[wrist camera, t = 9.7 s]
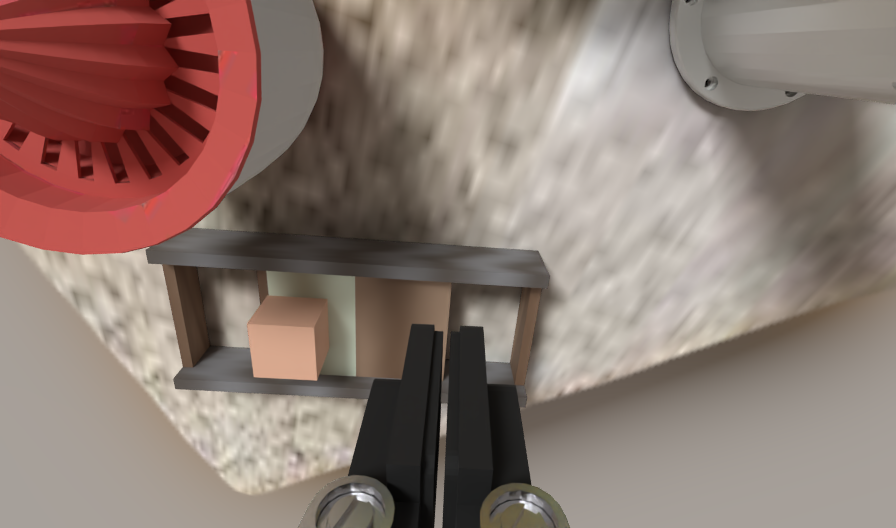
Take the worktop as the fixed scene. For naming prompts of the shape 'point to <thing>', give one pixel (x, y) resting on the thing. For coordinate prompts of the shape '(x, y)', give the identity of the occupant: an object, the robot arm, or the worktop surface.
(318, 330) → the terracotta block
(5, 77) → the citrus juicer
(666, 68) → the worktop surface
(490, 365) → the box
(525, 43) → the worktop surface
